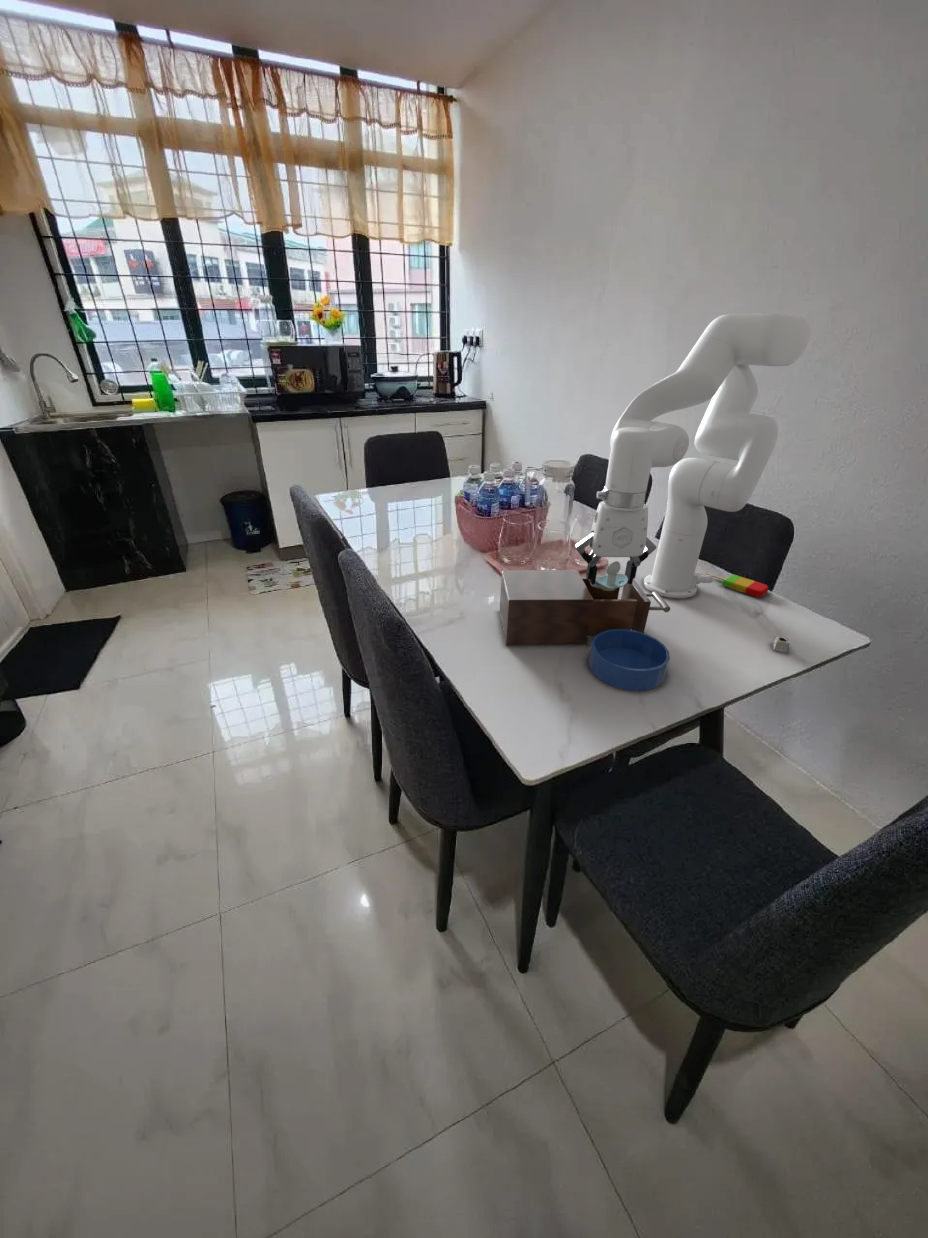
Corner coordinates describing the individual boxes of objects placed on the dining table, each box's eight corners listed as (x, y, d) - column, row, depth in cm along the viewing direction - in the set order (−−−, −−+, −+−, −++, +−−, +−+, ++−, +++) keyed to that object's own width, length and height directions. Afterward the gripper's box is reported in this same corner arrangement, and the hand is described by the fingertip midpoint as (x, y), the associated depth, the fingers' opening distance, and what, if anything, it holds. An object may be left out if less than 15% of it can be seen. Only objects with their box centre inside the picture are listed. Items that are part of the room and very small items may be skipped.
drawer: (648, 609, 115) (656, 574, 110) (669, 638, 104) (679, 601, 100) (556, 610, 114) (561, 575, 109) (568, 639, 103) (573, 602, 99)
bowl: (648, 647, 103) (653, 628, 100) (676, 690, 91) (682, 670, 88) (581, 648, 102) (584, 629, 100) (599, 691, 90) (603, 671, 88)
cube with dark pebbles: (773, 650, 102) (777, 640, 101) (773, 645, 104) (776, 635, 103) (785, 652, 102) (790, 642, 100) (784, 647, 103) (788, 637, 102)
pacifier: (583, 584, 105) (602, 596, 101) (586, 557, 102) (606, 567, 98) (610, 578, 108) (630, 589, 104) (614, 551, 105) (635, 560, 101)
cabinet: (571, 612, 115) (577, 570, 110) (586, 644, 103) (593, 599, 98) (499, 612, 114) (501, 570, 109) (505, 645, 103) (509, 599, 97)
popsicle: (760, 599, 122) (762, 592, 121) (699, 579, 131) (701, 572, 130) (768, 592, 125) (770, 585, 124) (709, 573, 134) (710, 566, 133)
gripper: (583, 504, 91) (572, 590, 100) (677, 503, 92) (657, 589, 101) (574, 491, 98) (564, 574, 107) (661, 491, 98) (644, 573, 107)
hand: (609, 580), depth 104 cm, fingers closed on pacifier, 7 cm apart
